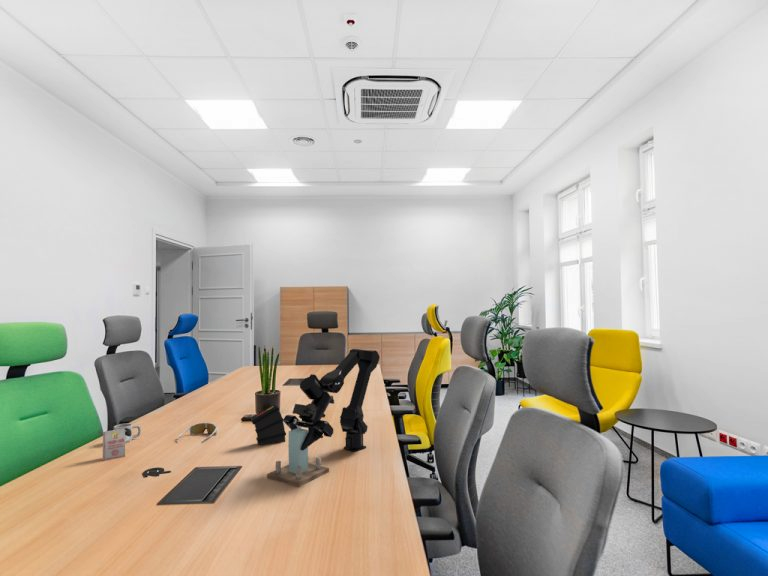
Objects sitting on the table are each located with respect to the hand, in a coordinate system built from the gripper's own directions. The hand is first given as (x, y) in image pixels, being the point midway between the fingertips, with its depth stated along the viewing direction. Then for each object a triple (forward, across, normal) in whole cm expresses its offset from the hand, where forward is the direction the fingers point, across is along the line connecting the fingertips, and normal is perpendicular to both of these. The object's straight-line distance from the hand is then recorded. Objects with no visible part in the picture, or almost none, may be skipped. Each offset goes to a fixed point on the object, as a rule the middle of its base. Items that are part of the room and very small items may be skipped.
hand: (295, 448), depth 138 cm
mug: (+12, -89, 0) cm, 90 cm away
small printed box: (+22, -72, -9) cm, 76 cm away
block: (+4, 0, +6) cm, 8 cm away
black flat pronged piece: (+22, -40, -8) cm, 47 cm away
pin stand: (+5, 0, +7) cm, 9 cm away
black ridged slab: (-7, -34, +20) cm, 41 cm away
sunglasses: (0, -66, +13) cm, 67 cm away
